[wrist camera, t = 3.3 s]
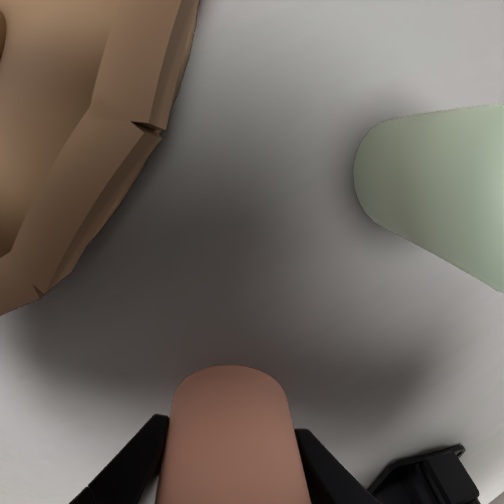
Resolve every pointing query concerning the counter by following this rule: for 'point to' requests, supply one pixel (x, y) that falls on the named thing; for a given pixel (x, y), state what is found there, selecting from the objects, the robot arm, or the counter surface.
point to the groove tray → (78, 123)
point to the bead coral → (231, 442)
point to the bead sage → (440, 185)
